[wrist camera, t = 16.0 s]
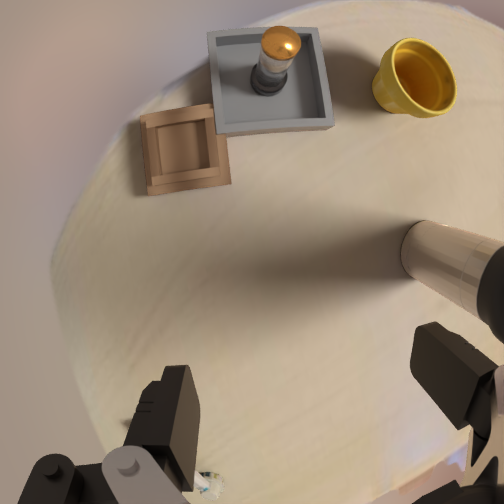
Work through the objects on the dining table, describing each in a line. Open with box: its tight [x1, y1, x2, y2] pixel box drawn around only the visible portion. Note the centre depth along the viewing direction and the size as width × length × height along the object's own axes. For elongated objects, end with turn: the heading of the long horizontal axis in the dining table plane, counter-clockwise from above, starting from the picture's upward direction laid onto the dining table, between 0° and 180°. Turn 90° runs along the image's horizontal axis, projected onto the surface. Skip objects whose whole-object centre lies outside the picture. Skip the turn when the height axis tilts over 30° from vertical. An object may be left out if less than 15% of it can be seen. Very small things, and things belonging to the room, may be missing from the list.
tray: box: [207, 27, 335, 137], centre depth 32 cm, size 14×14×4 cm
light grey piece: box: [194, 470, 224, 501], centre depth 46 cm, size 5×7×25 cm
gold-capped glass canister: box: [250, 26, 301, 97], centre depth 28 cm, size 4×4×12 cm
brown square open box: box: [140, 103, 231, 196], centre depth 34 cm, size 10×10×4 cm
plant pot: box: [372, 38, 457, 118], centre depth 30 cm, size 10×10×10 cm
